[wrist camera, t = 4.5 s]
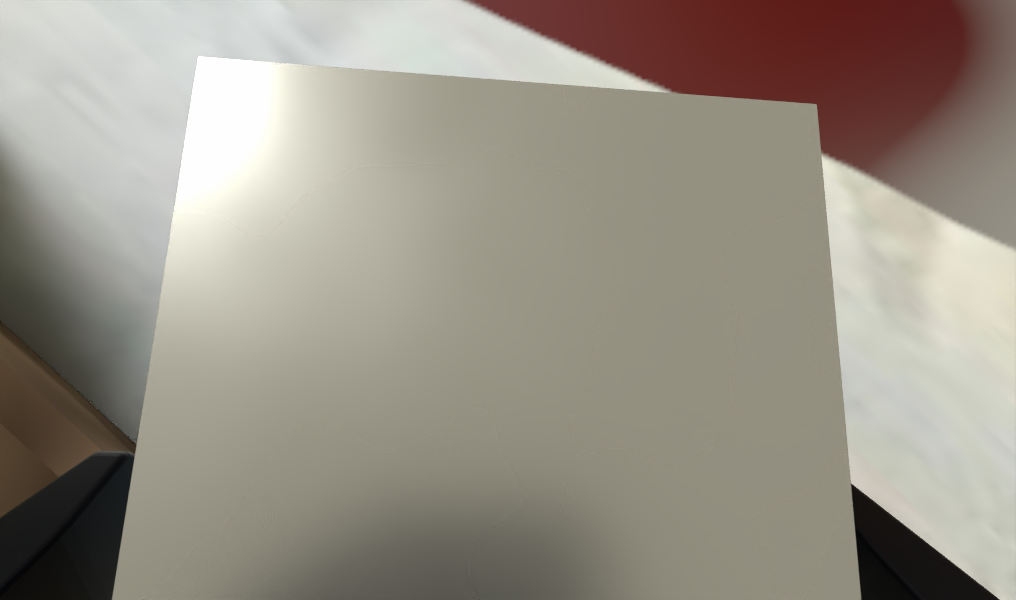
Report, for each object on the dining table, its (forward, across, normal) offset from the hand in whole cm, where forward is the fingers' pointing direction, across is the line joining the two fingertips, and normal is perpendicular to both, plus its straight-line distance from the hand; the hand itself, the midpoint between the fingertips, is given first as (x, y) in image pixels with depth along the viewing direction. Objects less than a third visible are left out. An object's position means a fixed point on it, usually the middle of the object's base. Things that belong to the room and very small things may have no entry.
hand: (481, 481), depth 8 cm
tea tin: (+7, 0, +5) cm, 9 cm away
